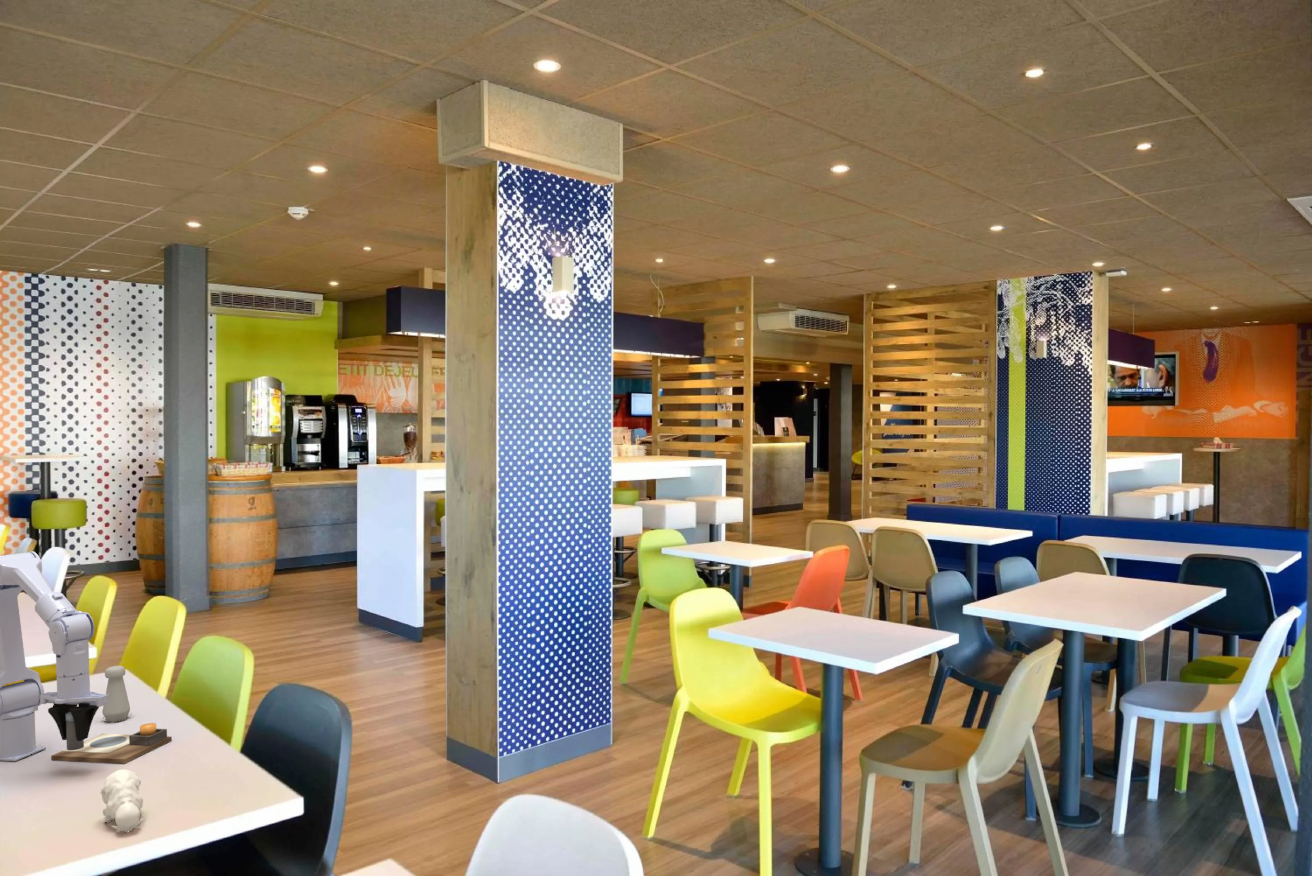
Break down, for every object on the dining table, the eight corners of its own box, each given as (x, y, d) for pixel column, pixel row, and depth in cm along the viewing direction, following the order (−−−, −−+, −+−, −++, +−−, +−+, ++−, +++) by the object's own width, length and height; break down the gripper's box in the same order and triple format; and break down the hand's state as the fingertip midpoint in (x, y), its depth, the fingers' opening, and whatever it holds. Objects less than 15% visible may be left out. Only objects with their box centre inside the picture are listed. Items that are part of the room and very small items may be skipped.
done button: (136, 736, 201) (136, 727, 201) (147, 731, 204) (147, 722, 204) (149, 737, 200) (148, 728, 200) (159, 732, 203) (159, 723, 203)
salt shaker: (117, 724, 218) (115, 670, 218) (96, 723, 219) (95, 669, 219) (135, 716, 224) (134, 664, 224) (115, 715, 225) (114, 663, 225)
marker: (62, 750, 186) (61, 713, 186) (75, 745, 189) (74, 709, 189) (75, 750, 186) (74, 714, 186) (87, 745, 189) (86, 709, 189)
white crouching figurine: (138, 762, 168) (149, 787, 158) (139, 806, 168) (150, 834, 159) (98, 770, 164) (107, 797, 154) (100, 816, 165) (108, 845, 155)
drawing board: (51, 760, 195) (50, 746, 195) (102, 737, 208) (102, 724, 208) (124, 764, 191) (123, 749, 191) (171, 741, 205) (171, 727, 205)
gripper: (26, 677, 185) (28, 744, 185) (87, 680, 182) (89, 747, 182) (55, 668, 192) (57, 732, 192) (114, 670, 189) (116, 735, 189)
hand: (75, 739), depth 188 cm, fingers closed on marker, 3 cm apart
